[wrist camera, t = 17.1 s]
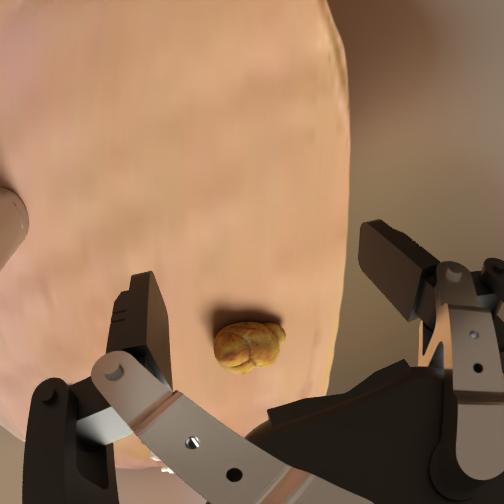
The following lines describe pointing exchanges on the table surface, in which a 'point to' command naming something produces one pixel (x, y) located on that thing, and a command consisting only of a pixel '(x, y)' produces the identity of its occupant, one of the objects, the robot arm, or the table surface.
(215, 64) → the table surface
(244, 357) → the bread roll
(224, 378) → the table surface
